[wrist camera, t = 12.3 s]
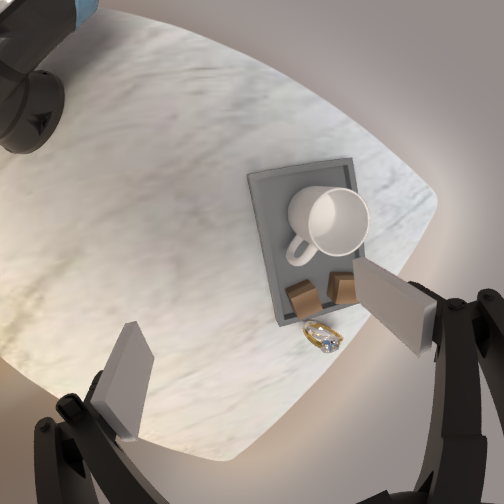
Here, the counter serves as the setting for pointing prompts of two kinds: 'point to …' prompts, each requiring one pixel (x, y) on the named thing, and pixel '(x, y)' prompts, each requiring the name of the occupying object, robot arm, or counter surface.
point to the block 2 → (341, 288)
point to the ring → (323, 337)
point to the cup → (327, 222)
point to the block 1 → (303, 299)
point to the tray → (281, 234)
